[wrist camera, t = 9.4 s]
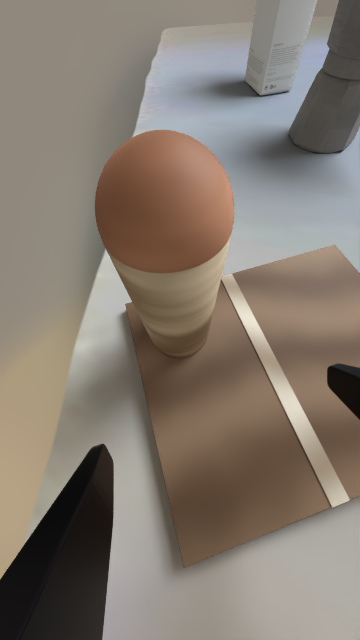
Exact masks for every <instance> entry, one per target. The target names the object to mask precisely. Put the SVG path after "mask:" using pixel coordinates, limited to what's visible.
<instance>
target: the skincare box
mask: <svg viewBox="0 0 360 640" xmlns="http://www.w3.org/2000/svg"><path fill="white" fill-rule="evenodd" d="M316 2H317V0H257V1H256V7H255V14H254V21H253V28H252V35H251V42H250V49H249V55H248V62H247V69H246V76H245V81H246V82H247V83H248V84H249V85H250V86H251V87H252V88H253V89H254V90H255V91H256V92H257V93H258V94H259V95H268V94H275V93H280V92H285V91H289V90H291V88H292V85H293V81H294V78H295V74H296V71H297V68H298V64H299V61H300V57H301V54H302V51H303V47H304V44H305V40H306V37H307V33H308V30H309V26H310V23H311V20H312V16H313V13H314V9H315V6H316Z"/></svg>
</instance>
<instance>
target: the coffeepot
mask: <svg viewBox="0 0 360 640" xmlns="http://www.w3.org/2000/svg"><path fill="white" fill-rule="evenodd" d="M327 45H328V47H329V48H330V49H329V52H328V54H327V57H326V59H325V62H324V64H323V68H322V69H321V70H320V71H319V72H318V74H317V75H316V77H315V79H314V81H313V83H312V85H311V87H310V89H309V91H308V93H307V95H306V97H305V99H304V102H303V104H302V106H301V108H300V110H299V112H298V114H297V116H296V118H295V120H294V122H293V124H292V126H291V128H290V130H289V134H290V138H291V140H292V141H293V143H294V144H296V145H297V146H298V147H300V148H302V149H305V150H308V151H311V152H316V153H334V152H338V151H341V150H344V149H345V148H346V147H347V146H348V145H349V144H350V143H351V142H352V141H353V140H354V138H355V136H356V133H357V131H358V129H359V127H360V0H339V3H338V6H337V10H336V14H335V17H334V21H333V24H332V28H331V32H330V35H329V39H328V43H327Z"/></svg>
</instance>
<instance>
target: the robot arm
mask: <svg viewBox="0 0 360 640" xmlns="http://www.w3.org/2000/svg"><path fill="white" fill-rule="evenodd" d="M327 384H328V387H329V388H330V390H331V391H332V392H333V393H334V394H335V395H336V396H337V397H338V398H339V399H340V400H341V401H342V402H343V403H344V404H345V405H346V406H347V407H348V408H349V410H350V411H351V412H352V413H353V414H354V415H355V416H356V417H357V418H358V419H359V420H360V368H359V367H354V366H350V365H345V364H340V363H337V364H334V365H331V366H329V367H328V368H327ZM113 486H114V466H113V460H112V457H111V455H110V453H109V451H108V449H107V448H106V446H105V445H104V444H100V445H97V446H94V447H92V448H91V449H90V451H89V452H88V454H87V455H86V457H85V458H84V459H83V461H82V462H81V464H80V465H79V467H78V468H77V470H76V471H75V472H74V474H73V475H72V477H71V478H70V480H69V481H68V483H67V484H66V485H65V487H64V488H63V490H62V491H61V493H60V494H59V495H58V497H57V498H56V500H55V501H54V503H53V504H52V506H51V507H50V508H49V510H48V511H47V513H46V514H45V516H44V517H43V519H42V520H41V521H40V523H39V524H38V526H37V527H36V529H35V530H34V532H33V533H32V534H31V536H30V537H29V539H28V540H27V542H26V543H25V545H24V546H23V547H22V549H21V550H20V552H19V553H18V555H17V556H16V558H15V559H14V561H13V562H12V563H11V565H10V566H9V568H8V569H7V571H6V572H5V573H4V575H3V576H2V578H1V579H0V640H102V636H103V625H104V614H105V604H106V593H107V582H108V571H109V560H110V549H111V538H112V528H113Z"/></svg>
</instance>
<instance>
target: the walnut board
mask: <svg viewBox="0 0 360 640" xmlns="http://www.w3.org/2000/svg"><path fill="white" fill-rule="evenodd" d="M125 305H126V309H127V314H128V318H129V323H130V327H131V332H132V336H133V341H134V345H135V350H136V354H137V359H138V363H139V368H140V372H141V377H142V381H143V386H144V390H145V395H146V399H147V404H148V408H149V413H150V417H151V422H152V426H153V431H154V435H155V440H156V444H157V449H158V453H159V458H160V462H161V467H162V471H163V476H164V480H165V485H166V489H167V494H168V498H169V503H170V507H171V512H172V516H173V521H174V525H175V530H176V534H177V539H178V543H179V548H180V552H181V557H182V561H183V565H184V567H187V566H189V565H192V564H194V563H197V562H199V561H201V560H204V559H206V558H209V557H211V556H214V555H216V554H218V553H221V552H223V551H226V550H228V549H231V548H233V547H235V546H238V545H240V544H243V543H245V542H248V541H250V540H252V539H255V538H257V537H260V536H262V535H265V534H267V533H269V532H272V531H274V530H277V529H279V528H281V527H284V526H286V525H289V524H291V523H294V522H296V521H298V520H301V519H303V518H306V517H308V516H311V515H313V514H315V513H318V512H320V511H323V510H325V509H328V508H330V507H335V506H337V505H340V504H342V503H345V502H347V501H350V499H352V498H354V497H357V496H359V495H360V420H359V419H358V418H357V417H356V416H355V415H354V414H353V413H352V412H351V411H350V410H349V408H348V407H347V406H346V405H345V404H344V403H343V402H342V401H341V400H340V399H339V398H338V397H337V396H336V395H335V394H334V393H333V392H332V391H331V390H330V388H329V387H328V384H327V368H328V367H329V366H331V365H334V364H337V363H340V364H345V365H350V366H354V367H359V368H360V273H359V272H358V271H357V270H356V269H355V267H354V266H353V265H352V264H351V263H350V262H349V260H348V259H347V258H346V257H345V256H344V255H343V253H342V252H341V251H340V250H339V249H338V248H337V246H336V245H332V246H329V247H325V248H321V249H318V250H314V251H311V252H307V253H304V254H300V255H297V256H293V257H290V258H286V259H283V260H279V261H276V262H272V263H268V264H265V265H261V266H258V267H254V268H251V269H247V270H244V271H240V272H237V273H233V274H232V273H231V274H227V275H224V276H221V281H220V285H219V289H218V293H217V298H216V302H215V306H214V311H213V315H212V319H211V323H210V328H209V332H208V336H207V340H206V342H205V344H204V345H203V347H202V348H201V349H200V350H199V351H198V352H197V353H195V354H193V355H191V356H189V357H186V358H172V357H169V356H166V355H164V354H162V353H161V352H160V351H159V350H158V349H157V348H156V347H155V346H154V344H153V342H152V340H151V338H150V336H149V334H148V332H147V330H146V328H145V326H144V324H143V322H142V320H141V318H140V316H139V314H138V312H137V310H136V308H135V306H134V304H133V302H131V303H127V304H125Z"/></svg>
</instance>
